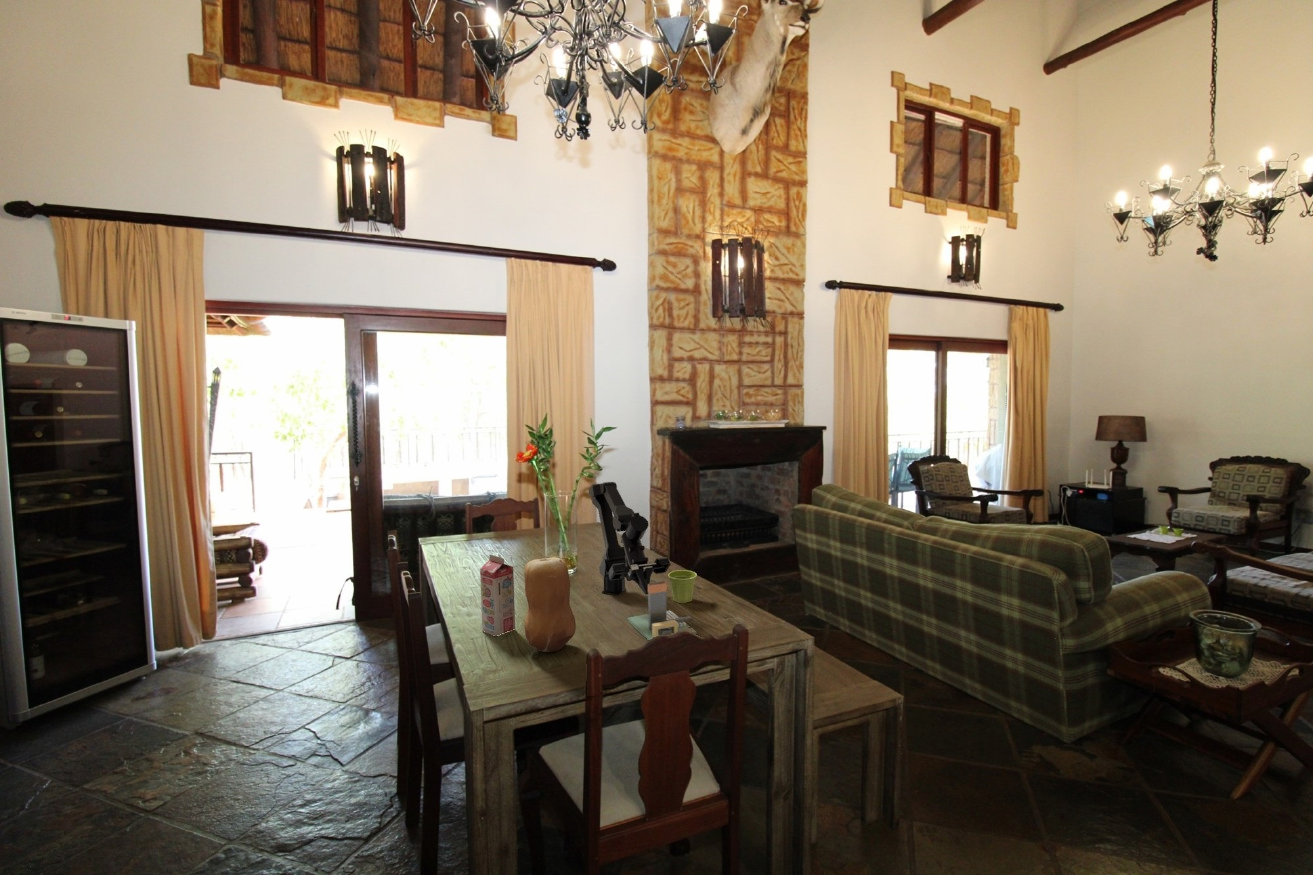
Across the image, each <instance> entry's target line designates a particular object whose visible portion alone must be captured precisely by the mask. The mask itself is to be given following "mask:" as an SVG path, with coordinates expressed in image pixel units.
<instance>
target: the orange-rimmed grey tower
mask: <svg viewBox="0 0 1313 875" xmlns="http://www.w3.org/2000/svg"><path fill="white" fill-rule="evenodd" d="M667 591H668V589H667V582H666V581H659V582H652V583H651V582H650V584H648V594H647V596H648V597H647V602H648V610H647V611H648V612H647V613H648V623H649V629H650V630H652V624H654V623H659V622H665V621H671V620H675V621H677V622H680V621H684V622H685V621H690V620H692V617H691V616H688V615H687V616H682V617H679V618H676V619H670V620H666V611H667ZM671 633H672V629H671V628H669V627H668V628H663V629H658V634H659V635H668V634H671Z"/></svg>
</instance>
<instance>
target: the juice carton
mask: <svg viewBox="0 0 1313 875" xmlns="http://www.w3.org/2000/svg"><path fill="white" fill-rule="evenodd" d="M488 557H489V558H488V559H489V560H488V561H486V563H484V564H483V565H481V567H480V568H479V571H480V572H479V577H480V601H481V602H480V603H481V627H482V628H481V629H482V630H481V632H482V631H485V632H486V633H485V632H484V633H485V634H487V633H489V634H491V635H490V636H492V635H495V636H497V635H500V634H502V633H505V632H507V631H511V630H513V629H515V630H516V618H515V617H516V615H515V614H516V613H515V610H516V609H515V582H514V581H515V580H514V577H515V576H514V567H513V566H512V565H509V564H505V558H503V557H500V556H496V555H493V554H490V553H489V556H488ZM511 632H512V631H511ZM489 634H488V635H489Z"/></svg>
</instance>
